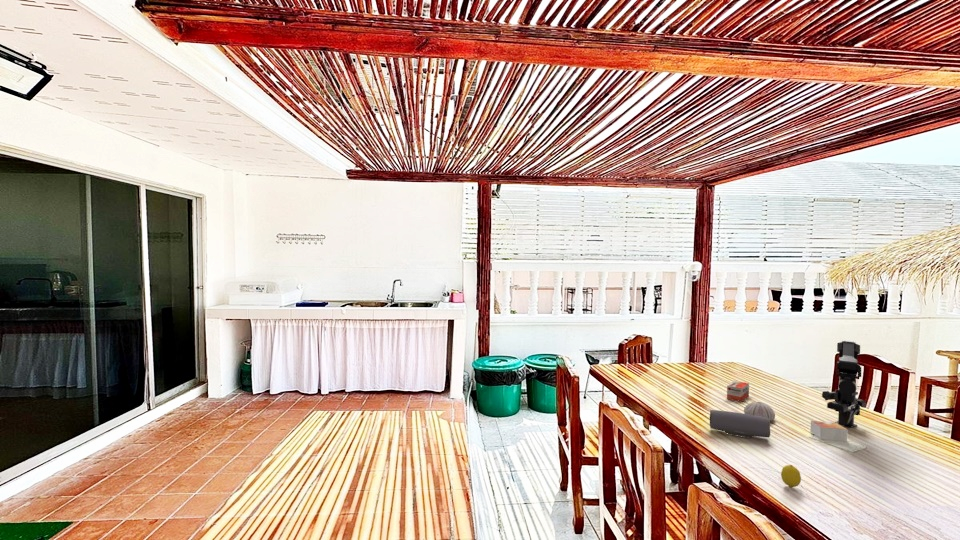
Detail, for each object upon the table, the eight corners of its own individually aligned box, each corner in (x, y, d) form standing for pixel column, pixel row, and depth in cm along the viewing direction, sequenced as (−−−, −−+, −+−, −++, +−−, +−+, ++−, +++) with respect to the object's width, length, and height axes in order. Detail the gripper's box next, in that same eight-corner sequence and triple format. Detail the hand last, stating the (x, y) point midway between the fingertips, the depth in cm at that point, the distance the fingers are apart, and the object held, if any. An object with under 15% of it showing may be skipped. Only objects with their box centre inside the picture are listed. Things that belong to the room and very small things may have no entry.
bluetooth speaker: (766, 435, 190) (766, 413, 190) (770, 443, 181) (771, 421, 181) (709, 426, 200) (709, 406, 199) (710, 434, 191) (711, 412, 191)
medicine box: (733, 393, 252) (733, 380, 252) (749, 396, 246) (749, 382, 246) (726, 398, 241) (726, 385, 241) (742, 402, 235) (742, 388, 235)
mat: (823, 433, 193) (823, 432, 193) (866, 448, 178) (866, 447, 178) (809, 437, 189) (809, 436, 189) (852, 452, 174) (852, 451, 174)
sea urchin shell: (771, 425, 202) (771, 409, 202) (739, 417, 212) (740, 401, 212) (778, 418, 211) (779, 403, 211) (748, 411, 221) (748, 396, 221)
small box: (848, 429, 183) (820, 427, 186) (847, 441, 184) (820, 439, 186) (836, 422, 191) (810, 420, 193) (835, 434, 191) (809, 432, 194)
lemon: (776, 483, 149) (777, 461, 149) (791, 483, 149) (792, 460, 149) (789, 492, 143) (790, 469, 143) (804, 491, 144) (805, 468, 144)
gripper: (837, 381, 197) (836, 414, 197) (814, 385, 189) (813, 420, 190) (867, 388, 186) (866, 422, 187) (843, 393, 179) (842, 429, 179)
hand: (846, 423), depth 186 cm, fingers closed
